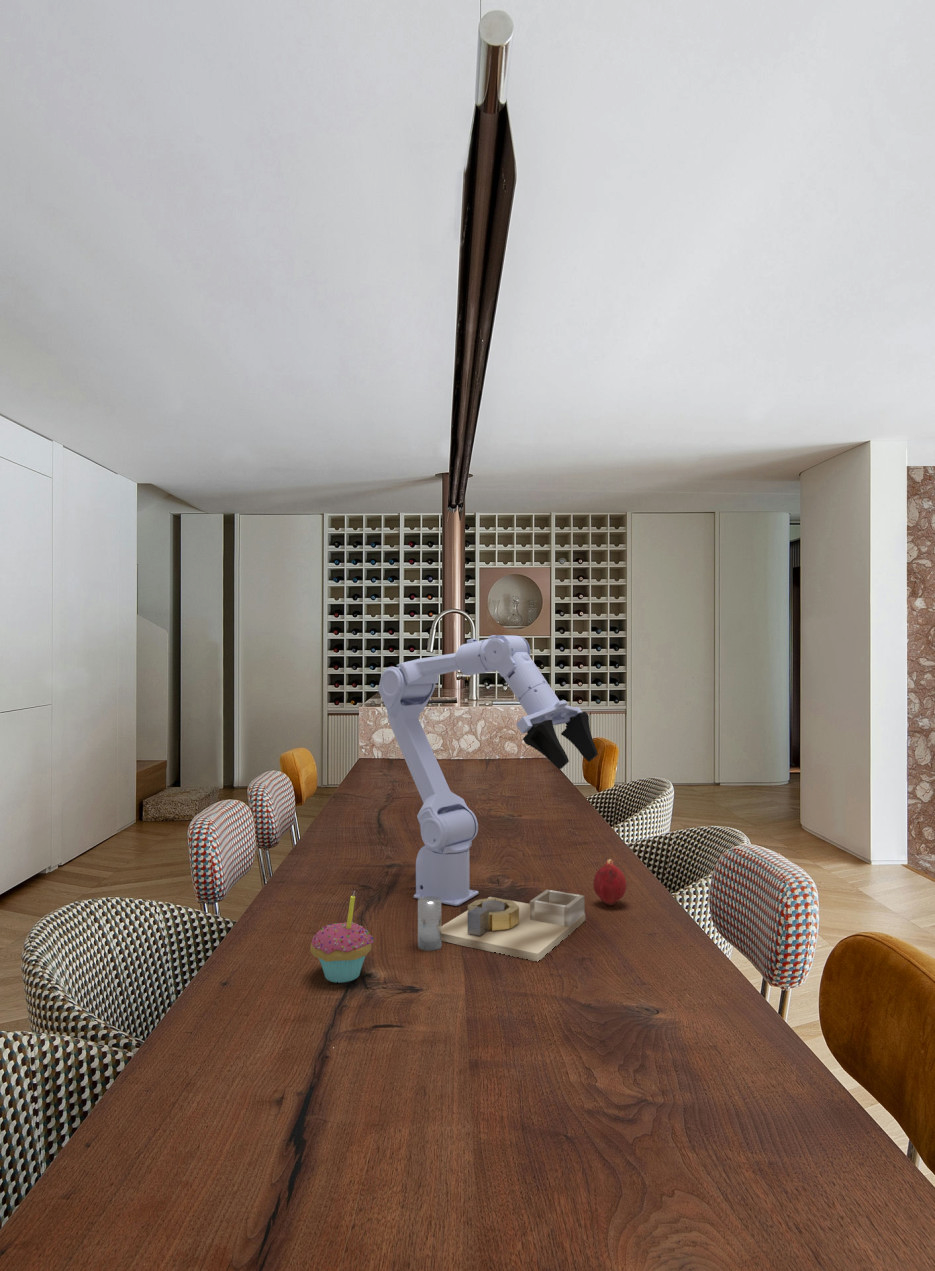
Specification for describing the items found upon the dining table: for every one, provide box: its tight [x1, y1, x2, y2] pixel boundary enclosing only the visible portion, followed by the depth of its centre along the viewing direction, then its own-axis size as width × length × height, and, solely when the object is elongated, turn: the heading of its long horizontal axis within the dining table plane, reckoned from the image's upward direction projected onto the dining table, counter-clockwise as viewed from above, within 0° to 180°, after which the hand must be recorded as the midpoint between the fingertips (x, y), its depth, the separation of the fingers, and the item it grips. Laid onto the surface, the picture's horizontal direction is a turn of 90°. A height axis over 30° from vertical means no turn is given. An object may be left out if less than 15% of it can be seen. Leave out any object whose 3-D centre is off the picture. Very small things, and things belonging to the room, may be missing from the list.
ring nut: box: [467, 897, 519, 936], centre depth 123 cm, size 8×10×3 cm
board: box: [441, 889, 586, 963], centre depth 124 cm, size 18×19×4 cm
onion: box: [592, 858, 627, 906], centre depth 135 cm, size 6×6×8 cm
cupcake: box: [309, 890, 374, 984], centre depth 107 cm, size 9×8×12 cm
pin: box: [417, 896, 442, 952], centre depth 117 cm, size 4×4×7 cm
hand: (579, 761), depth 122 cm, fingers open, 7 cm apart
